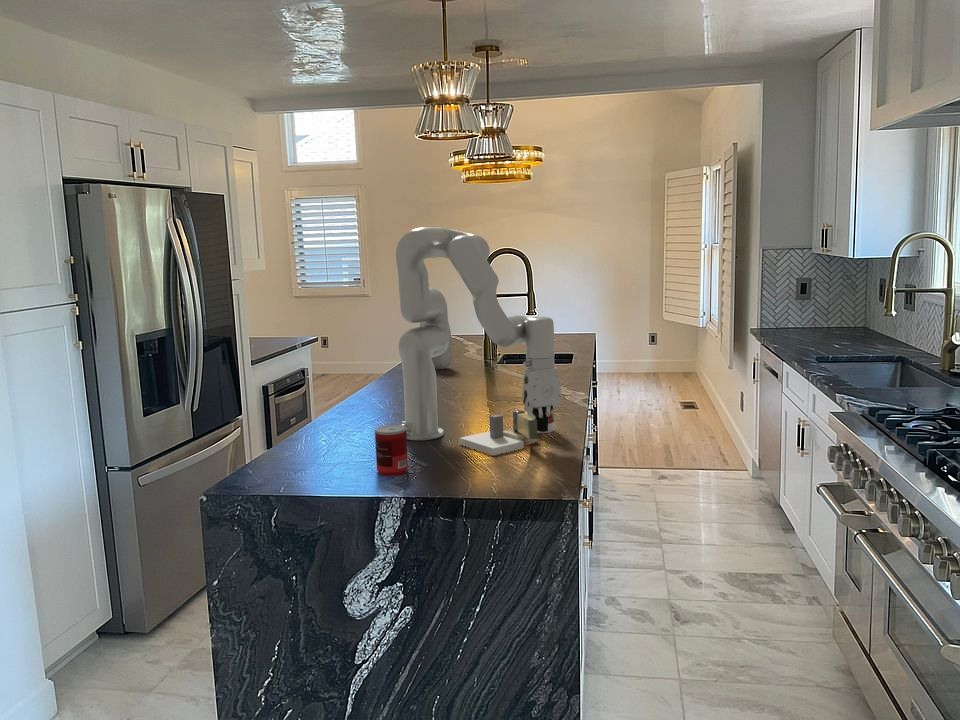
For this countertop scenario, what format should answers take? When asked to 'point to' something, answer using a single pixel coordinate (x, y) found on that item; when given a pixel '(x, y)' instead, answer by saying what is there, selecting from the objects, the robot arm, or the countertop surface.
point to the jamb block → (518, 436)
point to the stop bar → (524, 424)
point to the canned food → (391, 450)
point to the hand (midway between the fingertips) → (541, 430)
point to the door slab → (492, 439)
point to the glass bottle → (443, 357)
